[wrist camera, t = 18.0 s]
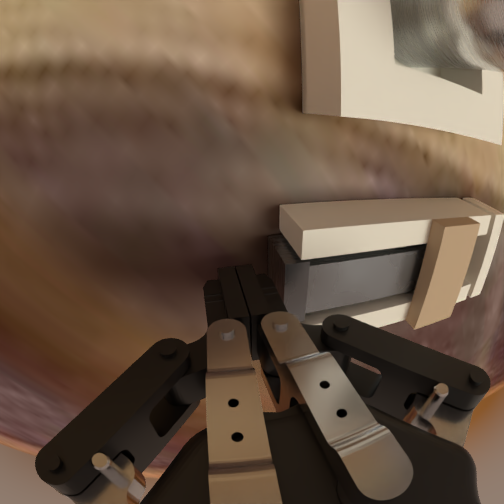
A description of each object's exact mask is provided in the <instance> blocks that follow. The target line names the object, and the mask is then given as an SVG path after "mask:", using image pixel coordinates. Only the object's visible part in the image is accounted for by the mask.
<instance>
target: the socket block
mask: <svg viewBox="0 0 504 504" xmlns="http://www.w3.org/2000/svg"><path fill="white" fill-rule="evenodd" d="M299 8H300V29H301V58H302V113H307V114H320V115H331V116H341V117H353V118H363V119H373V120H381V121H389V122H396V123H403V124H409V125H415V126H421V127H427V128H432V129H437V130H442V131H447V132H452V133H456V134H460V135H465V136H469V137H473V138H477V139H481V140H484V141H488V142H492V143H495V144H499V145H501V144H502V131H503V111H504V82H503V72H497V71H487V70H476V69H461V68H412V67H408V66H406V65H404V64H402V63H400V62H399V61H398V60H396V59H395V58H394V39H393V25H392V14H391V5H390V0H299Z"/></svg>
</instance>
